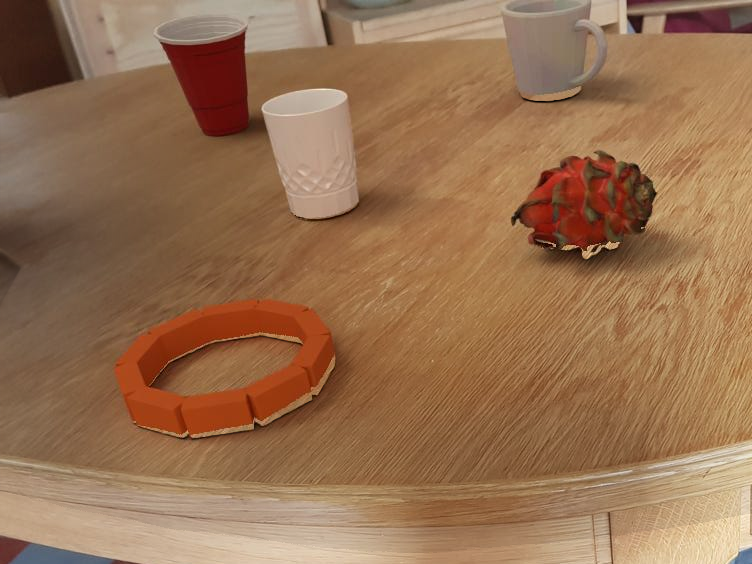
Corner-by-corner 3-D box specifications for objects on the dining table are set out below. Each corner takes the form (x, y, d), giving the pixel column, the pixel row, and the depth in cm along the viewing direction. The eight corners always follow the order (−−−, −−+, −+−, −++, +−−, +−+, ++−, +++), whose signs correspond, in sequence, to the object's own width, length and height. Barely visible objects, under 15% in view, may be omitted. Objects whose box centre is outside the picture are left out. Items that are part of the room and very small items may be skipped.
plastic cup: (210, 149, 110) (180, 39, 103) (166, 133, 117) (136, 28, 109) (288, 123, 115) (265, 16, 108) (242, 109, 122) (217, 7, 115)
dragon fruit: (668, 262, 79) (528, 296, 80) (645, 175, 82) (509, 210, 83) (671, 207, 71) (515, 247, 72) (645, 113, 73) (495, 153, 75)
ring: (88, 389, 68) (77, 360, 67) (264, 308, 76) (256, 281, 74) (189, 467, 59) (178, 435, 58) (376, 366, 67) (371, 336, 66)
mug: (553, 75, 121) (549, -11, 115) (638, 95, 111) (639, 1, 105) (490, 96, 116) (482, 7, 110) (573, 119, 106) (570, 22, 100)
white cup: (275, 224, 90) (249, 117, 84) (298, 193, 96) (276, 90, 90) (355, 221, 88) (334, 112, 82) (374, 190, 95) (356, 85, 88)
